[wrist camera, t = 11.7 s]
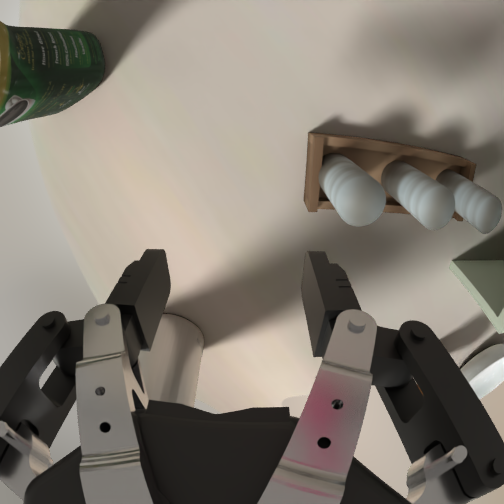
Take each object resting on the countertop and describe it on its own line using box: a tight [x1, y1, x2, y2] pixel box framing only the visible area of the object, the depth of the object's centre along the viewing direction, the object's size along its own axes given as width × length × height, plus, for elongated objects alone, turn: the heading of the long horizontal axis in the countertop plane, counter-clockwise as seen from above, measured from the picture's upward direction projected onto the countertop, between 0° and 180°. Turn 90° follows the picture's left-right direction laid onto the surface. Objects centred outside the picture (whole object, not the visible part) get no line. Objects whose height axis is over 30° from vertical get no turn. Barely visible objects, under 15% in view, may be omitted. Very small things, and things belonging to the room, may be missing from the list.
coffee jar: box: [0, 21, 105, 127], centre depth 13 cm, size 10×8×19 cm
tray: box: [304, 132, 502, 234], centre depth 23 cm, size 19×7×9 cm, turn 90°
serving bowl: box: [461, 344, 504, 399], centre depth 44 cm, size 21×21×7 cm
